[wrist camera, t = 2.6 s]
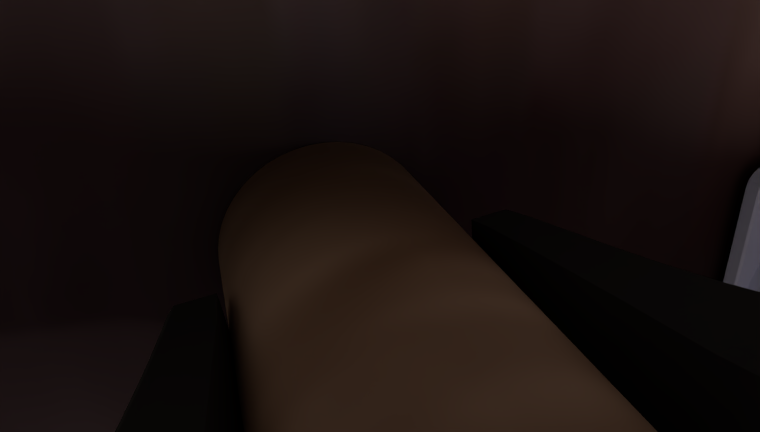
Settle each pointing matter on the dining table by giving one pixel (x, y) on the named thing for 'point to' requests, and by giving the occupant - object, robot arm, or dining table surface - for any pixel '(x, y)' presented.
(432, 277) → the plug
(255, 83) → the dining table surface
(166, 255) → the dining table surface
